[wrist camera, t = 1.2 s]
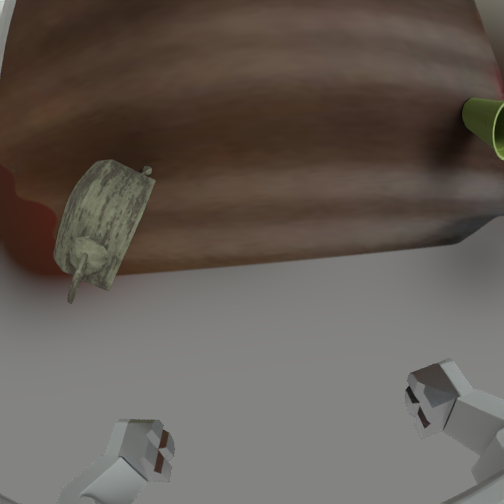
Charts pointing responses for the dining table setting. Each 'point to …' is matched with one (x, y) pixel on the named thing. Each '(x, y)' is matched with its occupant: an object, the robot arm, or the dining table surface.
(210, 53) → the dining table surface
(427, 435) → the robot arm
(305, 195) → the dining table surface
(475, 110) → the plant pot
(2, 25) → the switch bank
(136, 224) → the tabletop clock
